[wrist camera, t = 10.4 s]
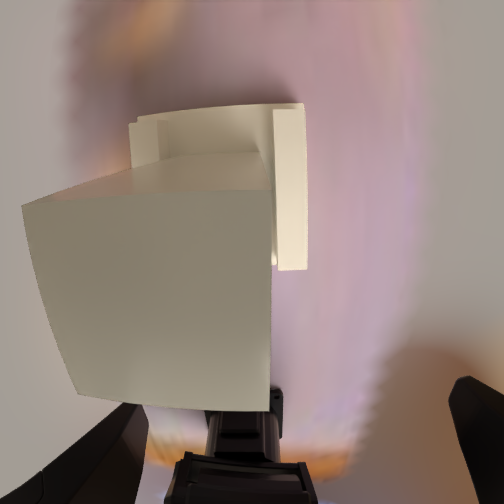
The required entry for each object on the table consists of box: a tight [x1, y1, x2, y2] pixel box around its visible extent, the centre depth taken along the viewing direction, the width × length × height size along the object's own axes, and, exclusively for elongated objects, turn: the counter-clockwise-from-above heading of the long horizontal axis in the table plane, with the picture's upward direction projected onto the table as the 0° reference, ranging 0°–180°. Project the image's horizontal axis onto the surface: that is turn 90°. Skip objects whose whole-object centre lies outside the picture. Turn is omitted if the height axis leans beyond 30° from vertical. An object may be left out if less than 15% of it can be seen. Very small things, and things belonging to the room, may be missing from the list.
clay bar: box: [22, 152, 272, 411], centre depth 11 cm, size 4×4×13 cm
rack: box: [128, 103, 308, 271], centre depth 17 cm, size 9×9×4 cm
